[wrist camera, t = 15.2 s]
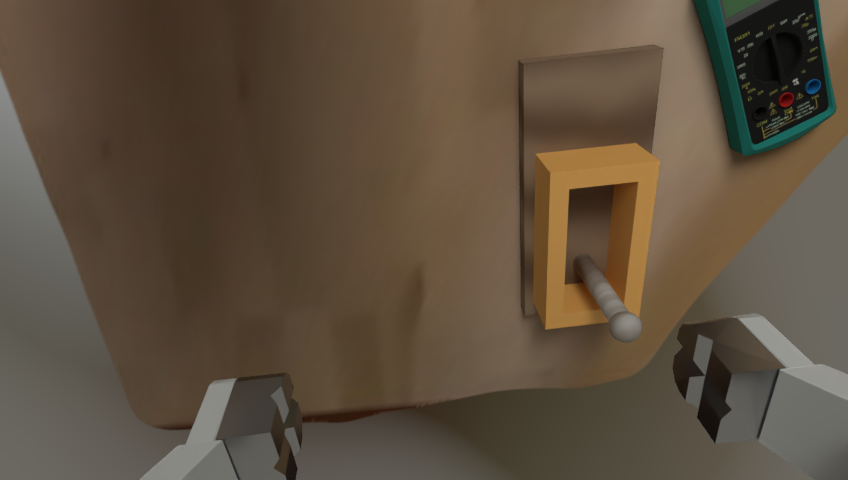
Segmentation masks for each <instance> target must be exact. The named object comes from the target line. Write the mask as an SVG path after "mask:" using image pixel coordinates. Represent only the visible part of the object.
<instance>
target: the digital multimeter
mask: <svg viewBox="0 0 848 480" xmlns="http://www.w3.org/2000/svg"><path fill="white" fill-rule="evenodd" d="M694 2H695V5H696V8H697V11H698V15H699V18H700V21H701V24H702V27H703V31H704V34H705V37H706V40H707V44H708V48H709V52H710V55H711V59H712V63H713V67H714V70H715V74H716V78H717V82H718V87H719V92H720V96H721V101H722V106H723V111H724V115H725V121H726V126H727V132H728V137H729V143H730V147H731V148H732V149H734V150H735V151H737V152H739V153H741V154H742V155H744V156H750V155H754V154H757V153H761V152H765V151H768V150H771V149H774V148H777V147H780V146H783V145H785V144H787V143H789V142H791V141H793V140H796V139H798V138H800V137H801V136H803V135H804V134H806V133H807V132H809V131H811V130H812V129H814V128H815V127H817V126H818V125H819V124H821V123H822V122H824V121H825V120H826V119H828V118H829V117H831V116H832V115H833V114H834V113H835V112H836V108H837V107H836V102H835V98H834V93H833V88H832V84H831V79H830V74H829V68H828V62H827V57H826V51H825V46H824V40H823V34H822V26H821V17H820V9H819V1H818V0H694ZM726 31H727V32H726ZM727 36H728V37H727ZM728 40H729V41H728ZM729 44H730V46H729ZM804 44H805V45H804ZM730 49H731V50H730ZM731 53H732V55H731ZM732 58H733V59H732ZM733 62H734V63H733ZM734 66H735V68H734ZM735 71H736V72H735ZM736 75H737V76H736ZM737 79H738V81H737ZM755 80H756V81H755ZM738 84H739V85H738ZM739 88H740V90H739ZM740 93H741V94H740ZM741 97H742V98H741ZM742 101H743V103H742ZM745 114H746V116H745ZM746 119H747V120H746ZM747 123H748V124H747ZM748 128H749V129H748ZM749 132H750V133H749ZM750 136H751V137H750Z"/></svg>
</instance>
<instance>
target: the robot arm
mask: <svg viewBox="0 0 848 480" xmlns="http://www.w3.org/2000/svg"><path fill="white" fill-rule="evenodd" d="M677 340H678V341H679V342H680V344H681V345H682V346H683V347H682V348H681V349H680V350H679V351H678V352H677V353H676V354H675V356H674V362H673V373H674V379H675V383H676V385H677V387H678V390H679V392H680V393H681V395H682V396H683V398H684V399H685V401H687V402H689V403H690V404H692V405H694V406H696V407H698V408H699V409H698V415H697V418H698V420H699V421H700V423H701V424H702V426H703V427H704V428H705V430H706V431H707V433H708V434H709V436H710V437H711V439H712V440H713V441H714V443H715V444H718V443H728V442H738V441H747V440H758V439H759V441H758V442H760V443H761V444H763V445H764V446H766V447H767V448H769V449H770V450H772V451H773V452H774V453H776V454H777V455H779V456H780V457H782V458H784V459H785V460H786V461H788V462H789V463H791V464H792V465H794V466H795V467H797V468H798V469H800V470H801V471H803V472H804V473H806V474H807V475H809V476H810V477H812V478H813V479H815V480H848V374H845V373H843V372H840V371H838V370H836V369H833V368H831V367H828V366H826V365H823V364H819V365H814V364H813V363H812V362H811V361H810V360H809V359H808V358H807V357H806V356H805V355H803V354H802V353H801V352H800V351H799V350H798V349H797V348H796V347H795V346H794V345H793V344H792V343H791V342H790V341H788V340H787V339H786V338H785V337H784V336H783V335H782V334H781V333H780V332H779V331H778V330H777V329H776V328H775V327H774V326H772V325H771V324H770V323H769V322H768V321H767V320H766V319H765V318H764V317H763V316H761V315H759V314H756V313H753V314H746V315H740V316H732V317H730V318H721V319H713V320H706V321H698V322H691V323H683V324H682V325H681V327H680V328H679V331H678V337H677ZM292 393H293V384H292V381H291V378H290V375H289V374H287V373H279V374H269V375H259V376H249V377H239V378H234V379H224V380H214V381H213V382H212V383H211V384H210V385H209V387H208V389H207V392H206V394H205V397H204V399H203V402H202V404H201V407H200V409H199V412H198V414H197V417H196V419H195V422H194V424H193V427H192V429H191V432H190V434H189V437H188V439H187V442H186V444H185V445H178V446H177V447H176V448H174V449H173V450H172V451H171V452H170V453H169V454H168V455H167V456H165V457H164V458H163V459H162V460H161V461H160V462H159V463H158V464H156V465H155V466H154V467H153V468H152V469H151V470H149V471H148V472H147V473H146V474H145V475H144V476H143V477H142V478H140V479H139V480H296V475H297V465H296V462H295V459H294V456H295V455H296V454H297V453H298V452H299V451H300V450H301V442H302V418H301V411H300V408H299V404H298V402H296V401H295V400H293V399H292Z"/></svg>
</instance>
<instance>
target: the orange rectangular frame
mask: <svg viewBox="0 0 848 480" xmlns="http://www.w3.org/2000/svg"><path fill="white" fill-rule="evenodd" d="M659 167H660V160H658V159H657V158H656V157H654V156H653V155H652V154H650V153H649V152H648V151H646V150H645V149H644V148H642V147H641V146H639V145H638V144H637V143H631V144H622V145H612V146H603V147H594V148H585V149H575V150H566V151H557V152H548V153H538V154H535V214H534V275H533V302H534V305H535V307H536V309H537V312H538V314H539V316H540V318H541V321H542V323H543V325H544V327H545V330H546V329H555V328H563V327H572V326H580V325H589V324H597V323H606V322H608V320H607V318H606V317H605V315H604V314H603V312H602V310H601V309H600V307H599V306H598V304H597V302H596V301H595V299H594V298H593V296H592V294H591V293H590V291H589V290H588V288H587V286H586V285H585V283H576V284H568V285H564V284H565V264H566V244H567V225H568V205H569V189H575V188H584V187H594V186H603V185H612V184H614V193H613V203H612V214H611V224H610V235H609V246H608V256H607V267H606V277H605V278H606V280H607V281H608V282H609V284H610V285H611V287H612V288H613V290H614V291H615V292H616V294H617V295H618V297H619V298H620V300H621V301H622V303H623V304H624V305H625V307H626V308H627V310H628V311H629V312H631V313H633V314H635V315H636V316H637V317H638V318H639V313H640V306H641V299H642V291H643V284H644V277H645V269H646V262H647V255H648V247H649V240H650V233H651V225H652V218H653V211H654V203H655V196H656V189H657V181H658V174H659Z"/></svg>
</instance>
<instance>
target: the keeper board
mask: <svg viewBox="0 0 848 480" xmlns="http://www.w3.org/2000/svg"><path fill="white" fill-rule="evenodd" d="M663 49H664V48H662V47H659V46H656V45H648V46H639V47H630V48H622V49H613V50H605V51H596V52H587V53H579V54H570V55H561V56H553V57H544V58H535V59H527V60H519V148H520V242H521V307H522V309H523V312H524V314H525V316H527V315H535V314H538V312H537V309H536V307H535V305H534V302H533V275H534V214H535V154H538V153H548V152H557V151H566V150H575V149H585V148H594V147H603V146H612V145H622V144H631V143H637V144H638V145H639V146H641V147H642V148H644V149H645V150H646V151H648V152H649V153H650V154H651V153H652V145H653V136H654V127H655V119H656V110H657V101H658V93H659V84H660V75H661V67H662V58H663ZM613 193H614V184H612V185H603V186H594V187H584V188H575V189H569V205H568V225H567V244H566V264H565V284H564V285H568V284H576V283H585V285H586V286H587V288H588V290H589V291H590V293H591V294H592V296H593V298H594V299H595V301H596V302H597V304H598V306H599V307H600V309H601V310H602V312H603V314H604V315H605V317H606V318H607V320H608V322H609V330H610V333H611V335H612V336H613V337H614V338H615V339H617V340H618V341H621V342H626V343H627V342H632V341H634V340H636V339H637V338H638V337H639V336H640V334H641V331H642V324H641V321H640V319H639V318H638V317H637V316H636V315H635V314H633V313H631V312H629V311H628V310H627V308H626V307H625V305H624V304H623V303H622V301H621V300H620V298H619V297H618V295H617V294H616V292H615V291H614V290H613V288H612V287H611V285H610V284H609V282H608V281H607V280H606V278H605V277H606V267H607V256H608V246H609V235H610V224H611V214H612V203H613Z"/></svg>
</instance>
